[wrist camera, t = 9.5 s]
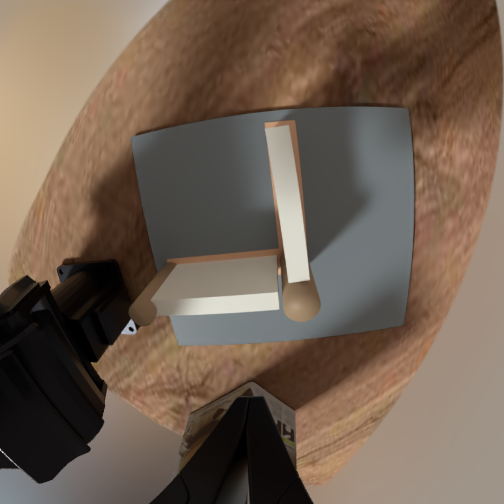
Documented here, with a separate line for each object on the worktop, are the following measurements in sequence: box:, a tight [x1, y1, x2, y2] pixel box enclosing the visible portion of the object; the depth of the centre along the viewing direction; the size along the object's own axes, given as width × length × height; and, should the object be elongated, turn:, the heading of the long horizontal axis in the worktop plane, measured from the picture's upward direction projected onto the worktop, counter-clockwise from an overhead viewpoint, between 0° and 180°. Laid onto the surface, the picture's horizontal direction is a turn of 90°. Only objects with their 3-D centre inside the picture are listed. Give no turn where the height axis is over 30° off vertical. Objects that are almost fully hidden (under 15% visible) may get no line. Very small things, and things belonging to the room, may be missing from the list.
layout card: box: [131, 107, 414, 345], centre depth 19 cm, size 18×16×1 cm
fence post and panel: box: [129, 252, 321, 326], centre depth 17 cm, size 10×2×6 cm, turn 97°
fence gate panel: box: [265, 125, 310, 283], centre depth 15 cm, size 7×1×5 cm, turn 10°
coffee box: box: [171, 382, 296, 504], centre depth 18 cm, size 9×6×16 cm
